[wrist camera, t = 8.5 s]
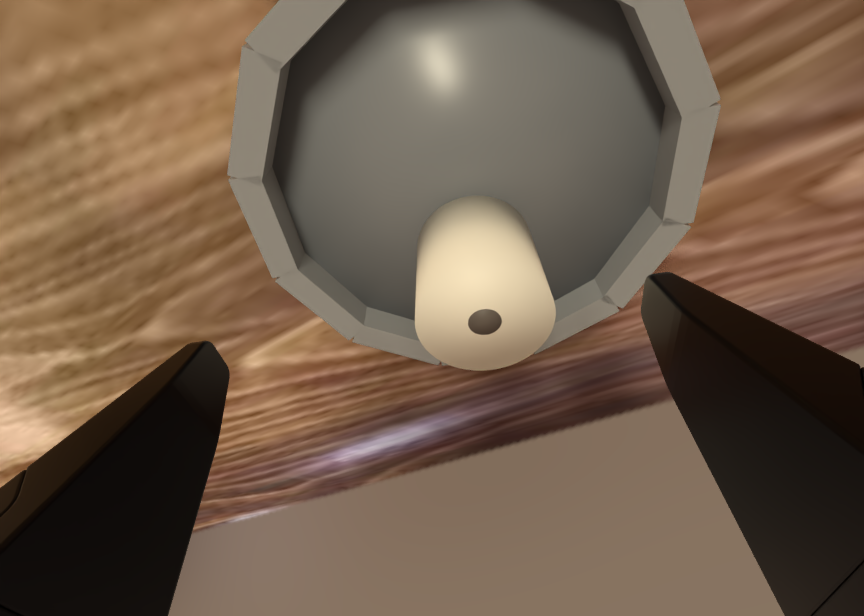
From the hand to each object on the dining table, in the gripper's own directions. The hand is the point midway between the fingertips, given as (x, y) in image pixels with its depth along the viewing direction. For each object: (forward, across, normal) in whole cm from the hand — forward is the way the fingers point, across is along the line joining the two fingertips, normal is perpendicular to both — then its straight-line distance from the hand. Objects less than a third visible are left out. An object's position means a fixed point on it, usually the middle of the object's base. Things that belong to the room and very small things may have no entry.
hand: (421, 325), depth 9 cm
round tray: (+11, -1, +2) cm, 12 cm away
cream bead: (+10, -1, +5) cm, 11 cm away
